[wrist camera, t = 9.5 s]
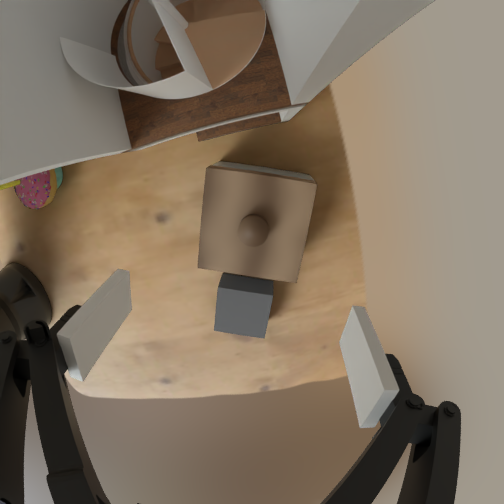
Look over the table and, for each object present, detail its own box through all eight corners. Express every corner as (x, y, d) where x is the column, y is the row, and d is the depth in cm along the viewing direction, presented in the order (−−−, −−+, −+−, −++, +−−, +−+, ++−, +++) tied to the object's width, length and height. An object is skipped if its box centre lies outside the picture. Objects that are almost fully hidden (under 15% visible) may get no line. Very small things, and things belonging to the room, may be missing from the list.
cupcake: (34, 196, 39) (-16, 218, 27) (36, 146, 35) (-18, 157, 24) (71, 204, 39) (19, 229, 28) (74, 148, 35) (18, 160, 24)
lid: (202, 259, 35) (194, 273, 31) (211, 165, 31) (203, 169, 27) (295, 273, 35) (297, 289, 31) (314, 180, 31) (319, 186, 27)
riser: (218, 314, 44) (214, 330, 40) (222, 273, 41) (218, 287, 37) (265, 321, 44) (264, 338, 40) (273, 280, 41) (273, 295, 37)
